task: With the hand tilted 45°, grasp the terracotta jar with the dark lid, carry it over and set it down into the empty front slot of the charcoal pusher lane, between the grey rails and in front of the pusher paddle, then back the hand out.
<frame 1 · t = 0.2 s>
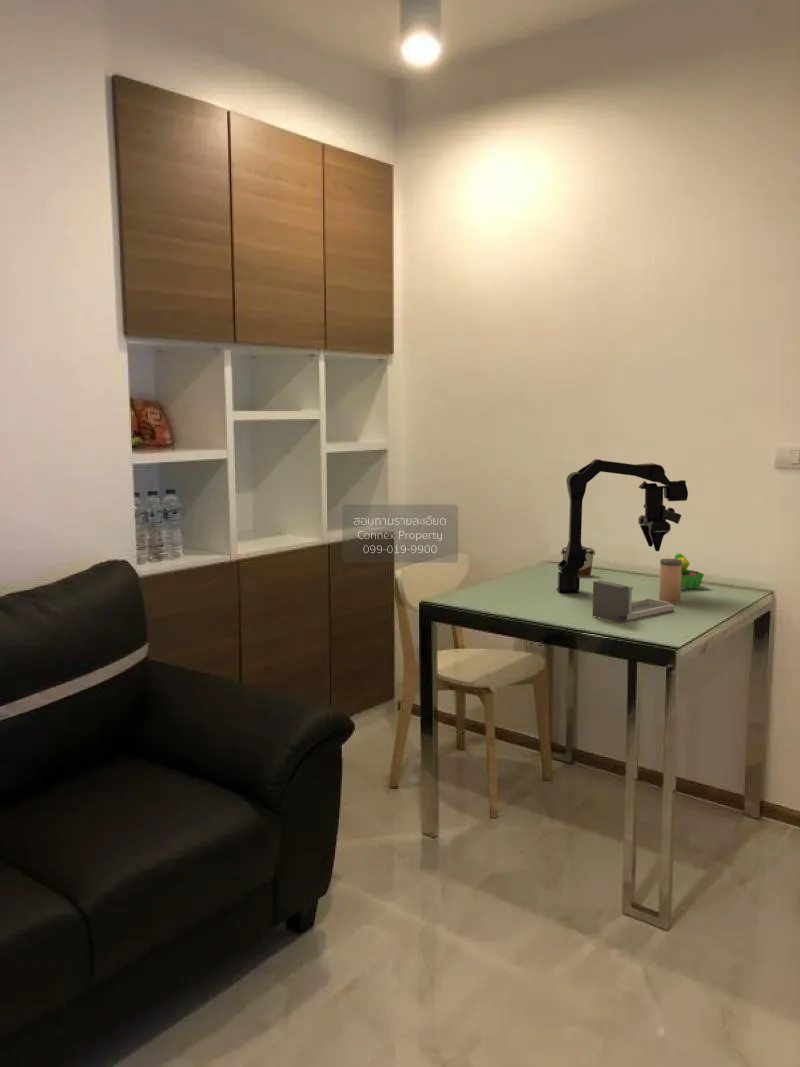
hand: (653, 548, 287), 14 cm above the table, tool pointing down, fingers open, 9 cm apart
lane: (633, 613, 260), on the table
jar: (669, 600, 276), on the table
food container: (576, 575, 318), on the table
fruit basket: (682, 587, 296), on the table
pusher paddle: (620, 599, 256), point 5 cm above the table, slide at 0.0 cm
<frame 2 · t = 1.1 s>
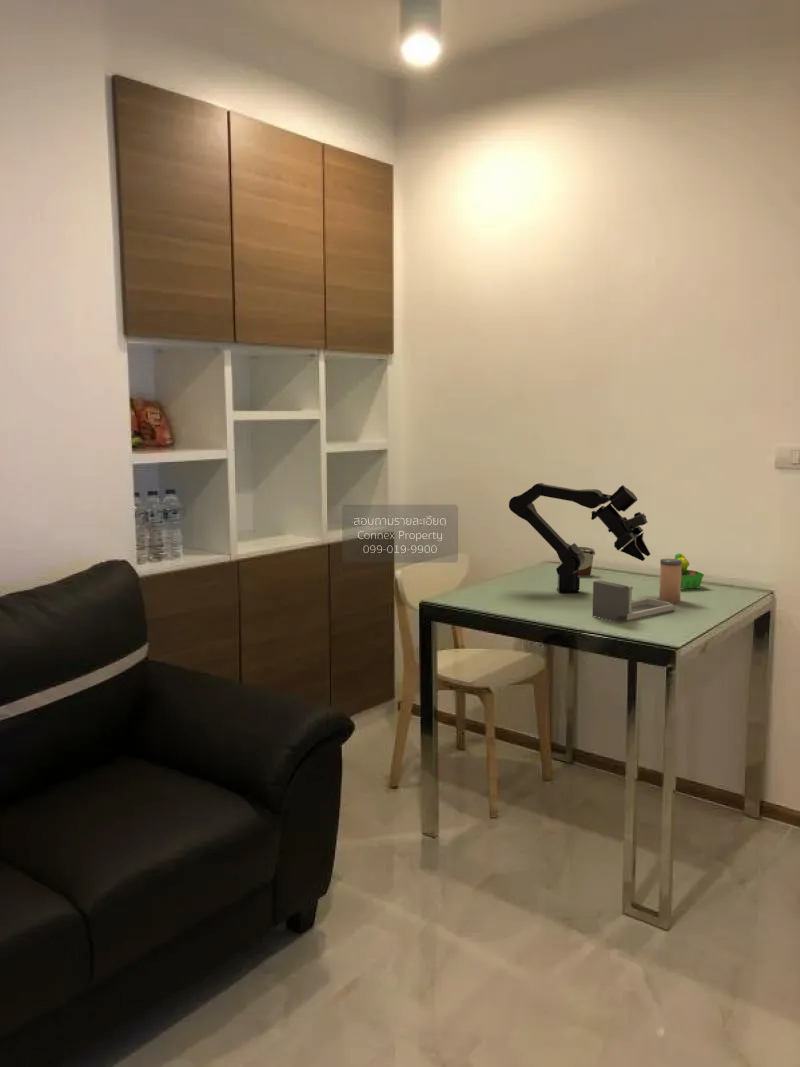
hand: (646, 557, 278), 13 cm above the table, tool tilted 45°, fingers open, 9 cm apart
nothing on the table moved.
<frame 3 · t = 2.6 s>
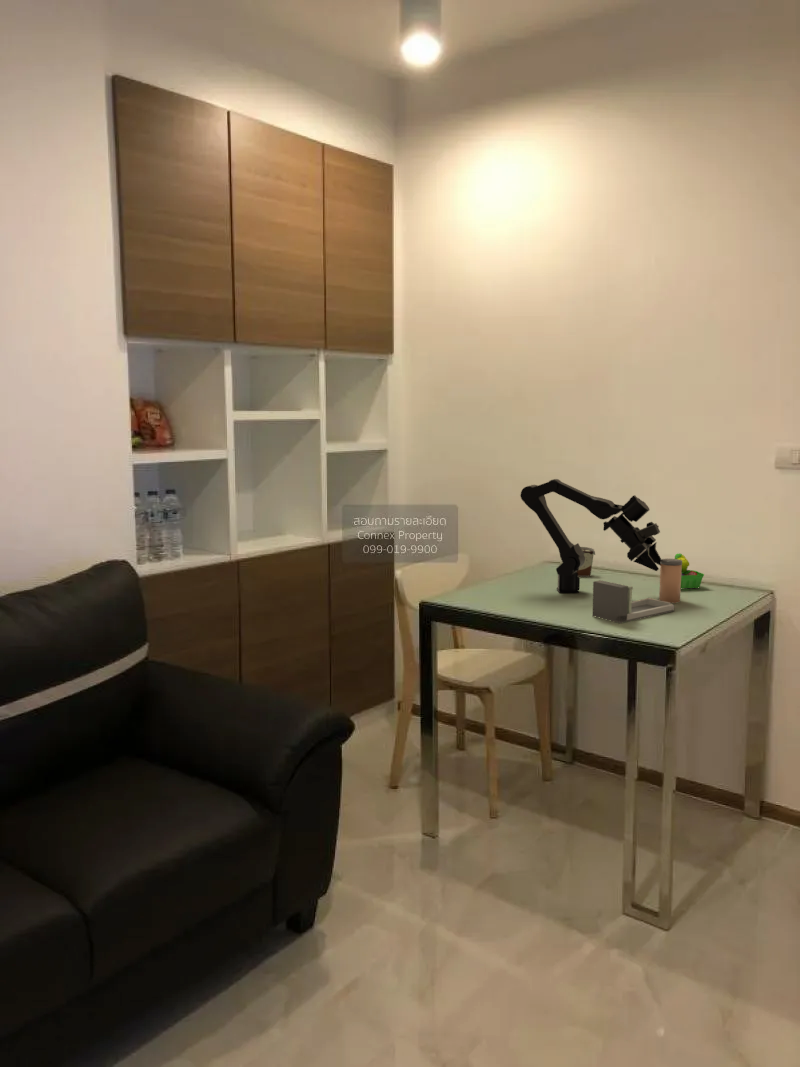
hand: (660, 567, 276), 10 cm above the table, tool tilted 45°, fingers open, 9 cm apart
nothing on the table moved.
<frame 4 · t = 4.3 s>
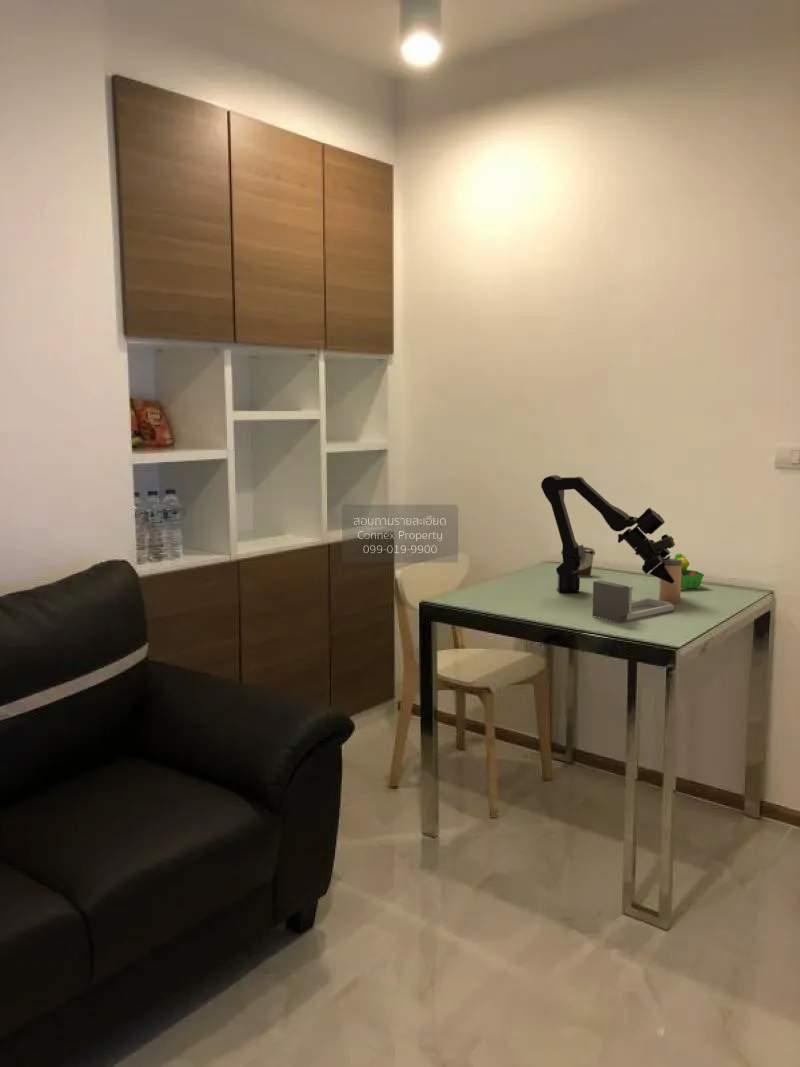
hand: (674, 580, 275), 7 cm above the table, tool tilted 45°, fingers closed on jar, 6 cm apart
jar: (669, 600, 276), on the table, touching gripper
everything else where it was.
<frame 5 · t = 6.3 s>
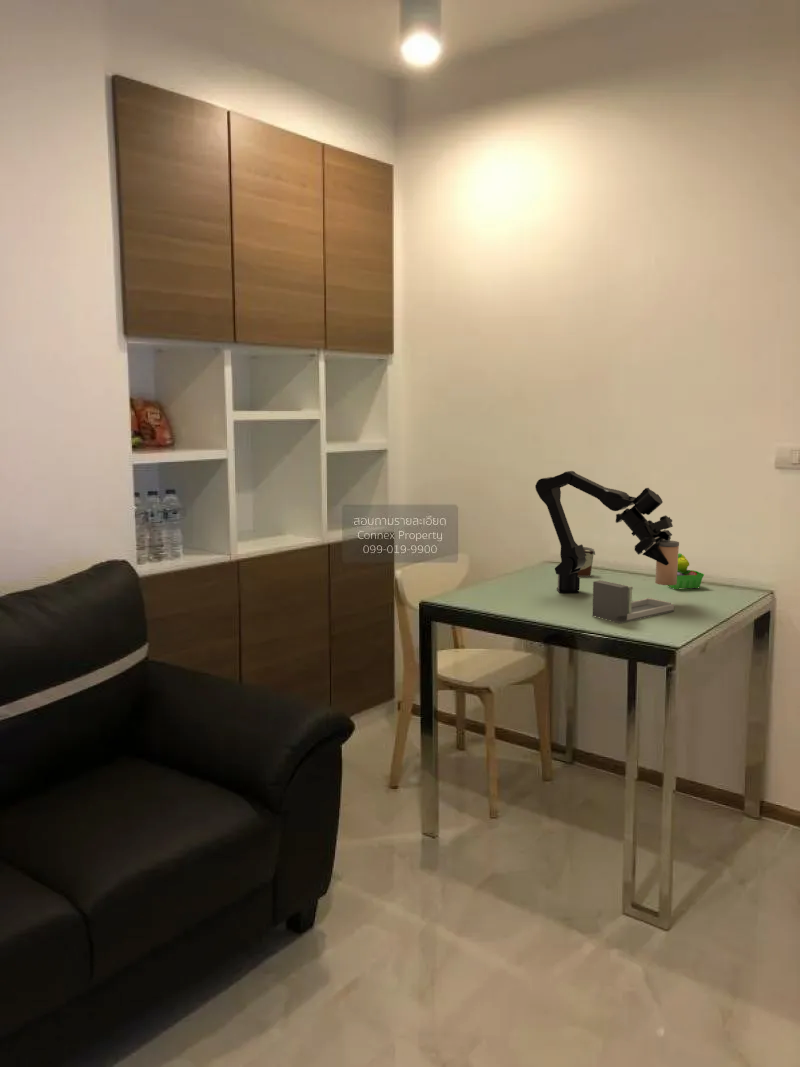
hand: (671, 562, 269), 13 cm above the table, tool tilted 45°, fingers closed on jar, 6 cm apart
jar: (665, 583, 271), point 7 cm above the table, touching gripper
everything else where it was.
when the fingers open (9 cm above the table, at t = 8.8 s): jar drops 2 cm, resting on lane.
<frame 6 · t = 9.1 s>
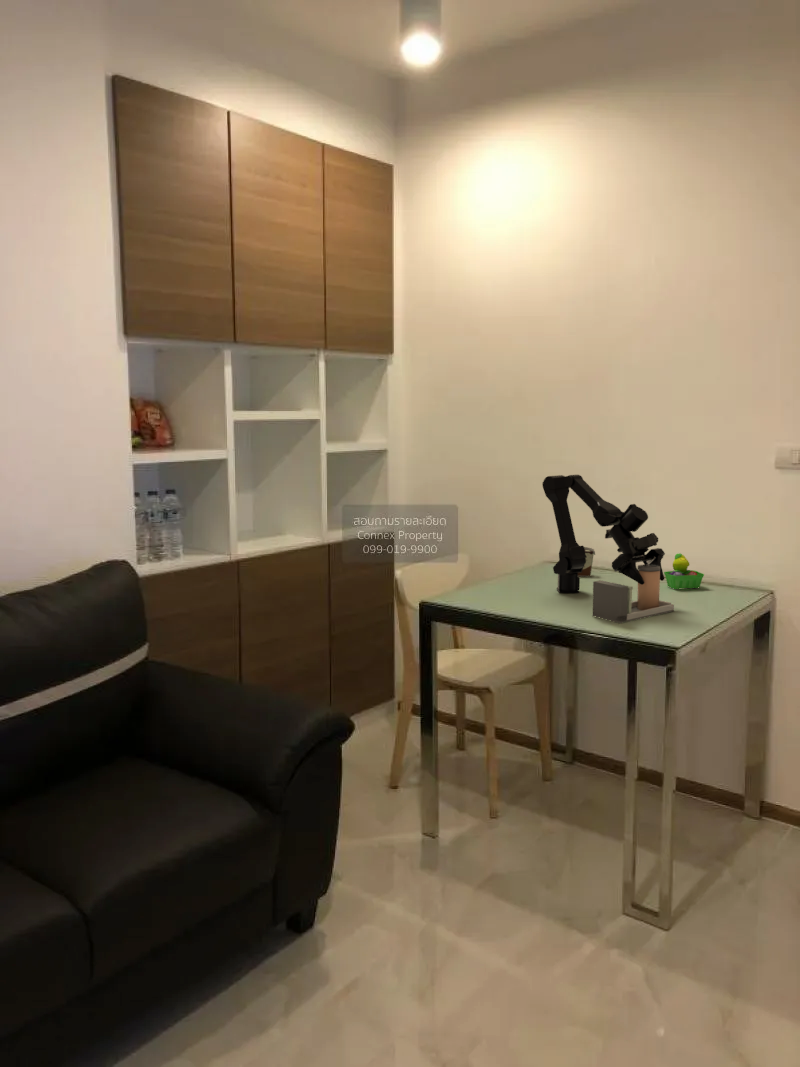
hand: (653, 581, 261), 9 cm above the table, tool tilted 45°, fingers open, 9 cm apart
jar: (648, 608, 264), point 1 cm above the table, touching lane
everything else where it was.
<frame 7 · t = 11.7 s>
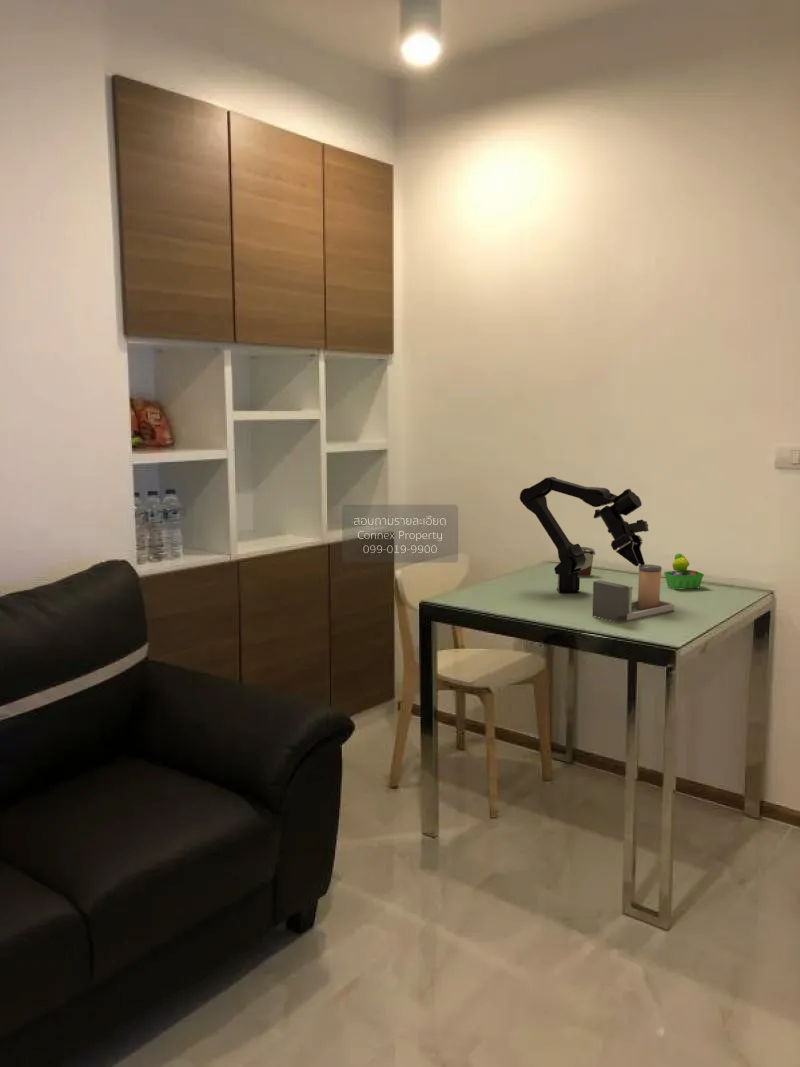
hand: (640, 565, 273), 12 cm above the table, tool tilted 35°, fingers open, 9 cm apart
nothing on the table moved.
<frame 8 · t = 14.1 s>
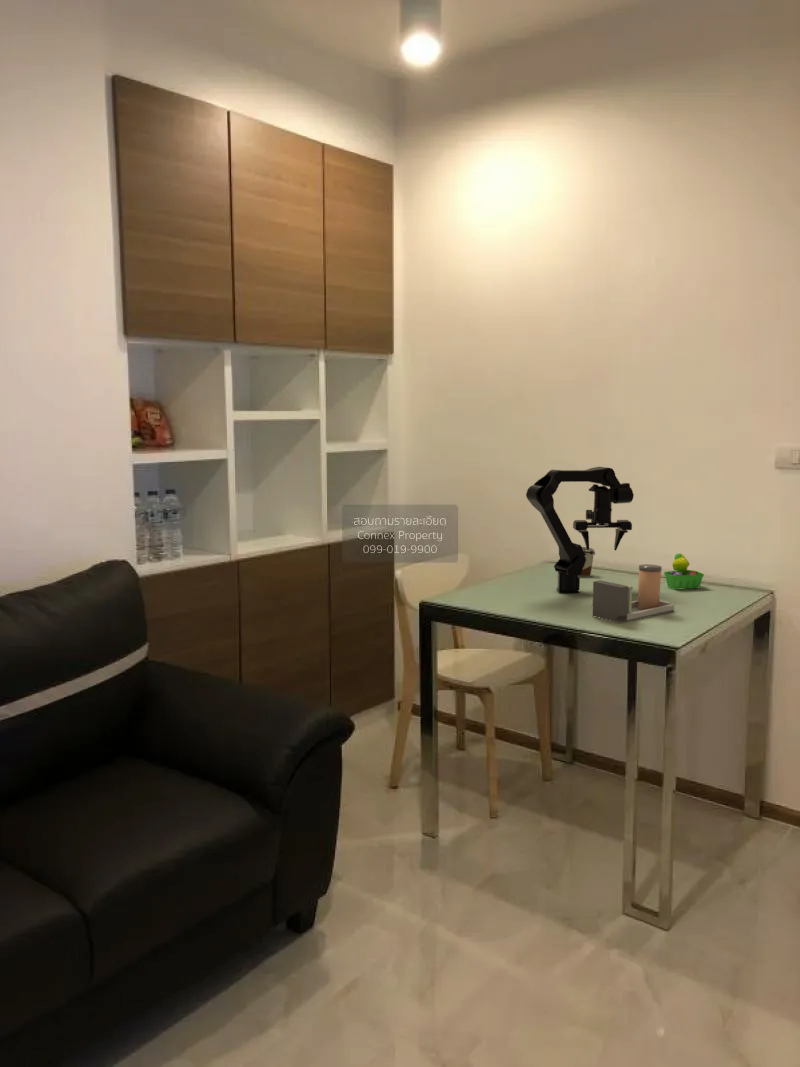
hand: (601, 550, 294), 13 cm above the table, tool pointing down, fingers open, 9 cm apart
nothing on the table moved.
at the end: jar 0.1 cm from the target spot on the lane, point 0.6 cm above the lane's base; jar tilted 1°; the gripper is holding nothing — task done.
